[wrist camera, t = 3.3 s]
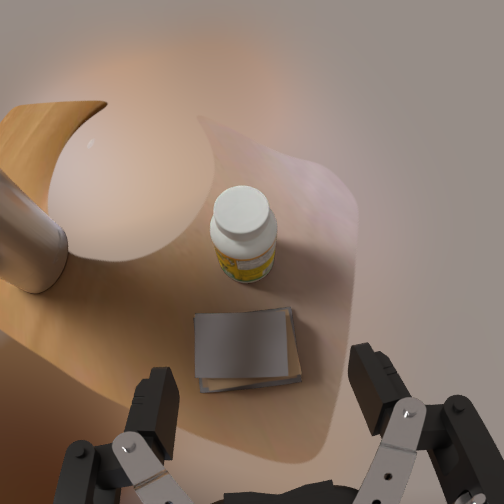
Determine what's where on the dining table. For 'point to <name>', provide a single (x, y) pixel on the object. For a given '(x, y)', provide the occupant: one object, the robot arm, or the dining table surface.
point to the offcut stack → (245, 350)
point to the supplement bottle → (244, 233)
